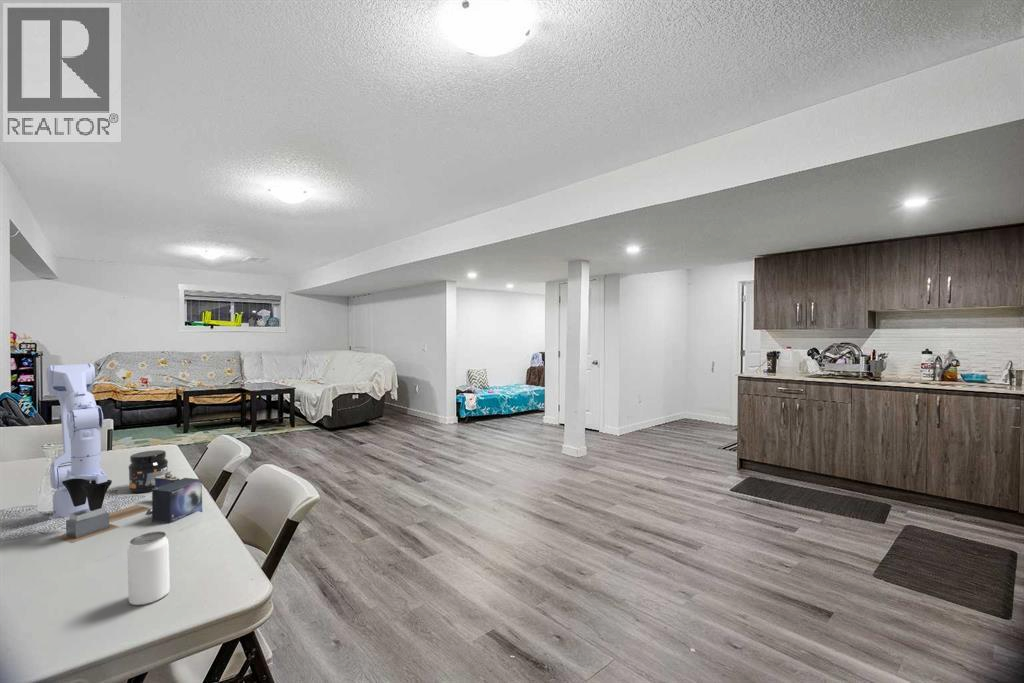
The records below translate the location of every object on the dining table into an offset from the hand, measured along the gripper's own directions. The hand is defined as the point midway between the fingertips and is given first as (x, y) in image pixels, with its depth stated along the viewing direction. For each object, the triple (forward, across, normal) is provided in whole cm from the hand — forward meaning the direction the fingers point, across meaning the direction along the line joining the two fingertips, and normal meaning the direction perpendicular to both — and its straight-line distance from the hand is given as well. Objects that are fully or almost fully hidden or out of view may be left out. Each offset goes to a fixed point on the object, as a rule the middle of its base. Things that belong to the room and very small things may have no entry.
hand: (87, 507), depth 119 cm
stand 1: (+8, 0, 0) cm, 8 cm away
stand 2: (+8, -6, +11) cm, 15 cm away
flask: (+8, -4, +21) cm, 23 cm away
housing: (+6, 0, 0) cm, 6 cm away
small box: (+8, +10, +16) cm, 21 cm away
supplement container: (+8, -28, +29) cm, 41 cm away
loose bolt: (+8, +4, +15) cm, 17 cm away
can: (+8, +45, -10) cm, 47 cm away
